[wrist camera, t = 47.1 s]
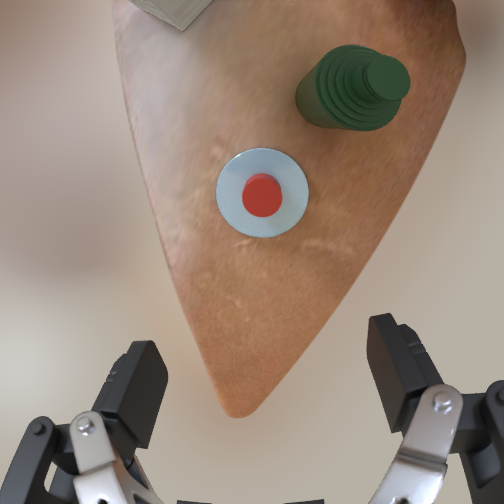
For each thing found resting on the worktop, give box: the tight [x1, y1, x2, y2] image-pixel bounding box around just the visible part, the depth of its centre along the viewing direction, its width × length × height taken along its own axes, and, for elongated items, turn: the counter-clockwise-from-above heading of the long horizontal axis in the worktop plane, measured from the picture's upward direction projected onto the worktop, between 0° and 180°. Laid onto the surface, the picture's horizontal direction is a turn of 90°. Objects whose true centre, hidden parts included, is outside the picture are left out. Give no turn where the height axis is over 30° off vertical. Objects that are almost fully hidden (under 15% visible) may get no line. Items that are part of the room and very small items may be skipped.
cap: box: [242, 173, 283, 217], centre depth 30 cm, size 4×4×3 cm
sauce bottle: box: [296, 45, 410, 131], centre depth 20 cm, size 6×6×17 cm
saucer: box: [216, 148, 309, 238], centre depth 32 cm, size 10×10×1 cm
